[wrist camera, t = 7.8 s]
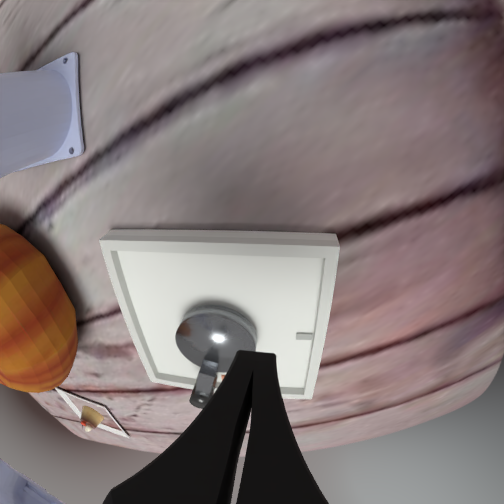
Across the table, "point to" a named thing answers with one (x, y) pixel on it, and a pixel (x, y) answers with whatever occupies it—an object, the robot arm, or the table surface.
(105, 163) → the table surface
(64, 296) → the pumpkin
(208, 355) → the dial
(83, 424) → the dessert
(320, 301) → the board
